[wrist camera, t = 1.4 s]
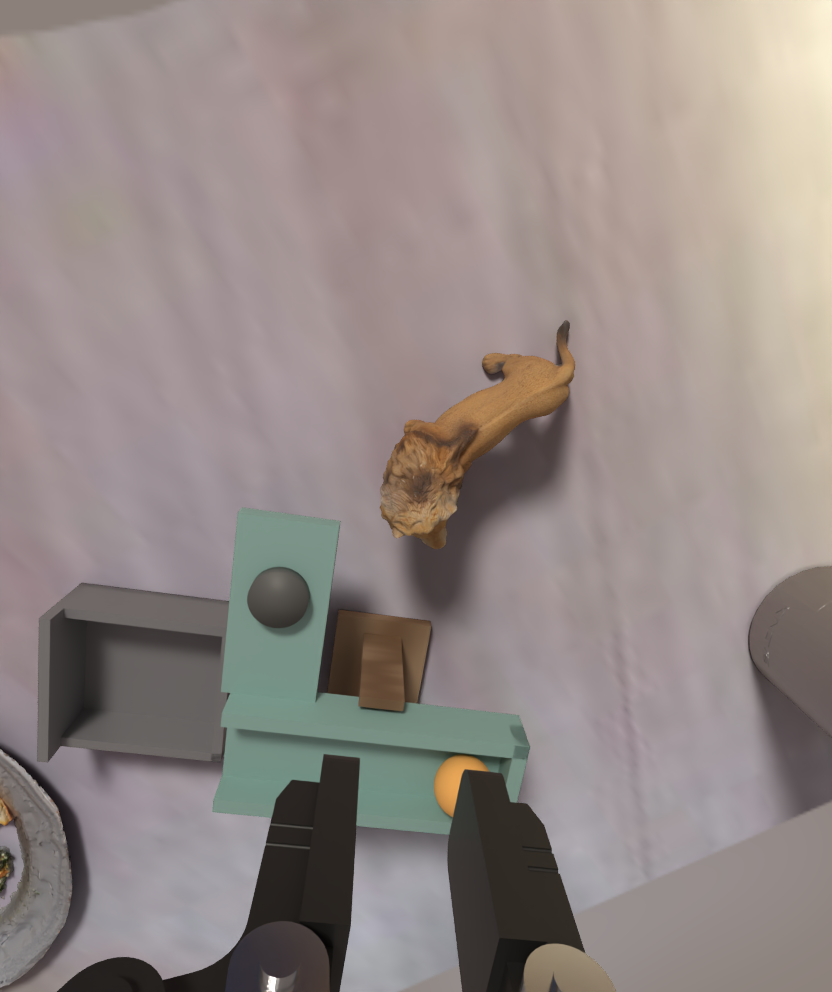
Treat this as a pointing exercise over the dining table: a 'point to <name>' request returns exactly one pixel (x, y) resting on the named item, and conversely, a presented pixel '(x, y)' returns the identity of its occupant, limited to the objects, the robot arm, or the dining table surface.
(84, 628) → the tray
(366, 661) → the fulcrum
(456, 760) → the ball
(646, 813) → the dining table surface
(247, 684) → the lever
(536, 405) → the lion figurine
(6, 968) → the food plate
